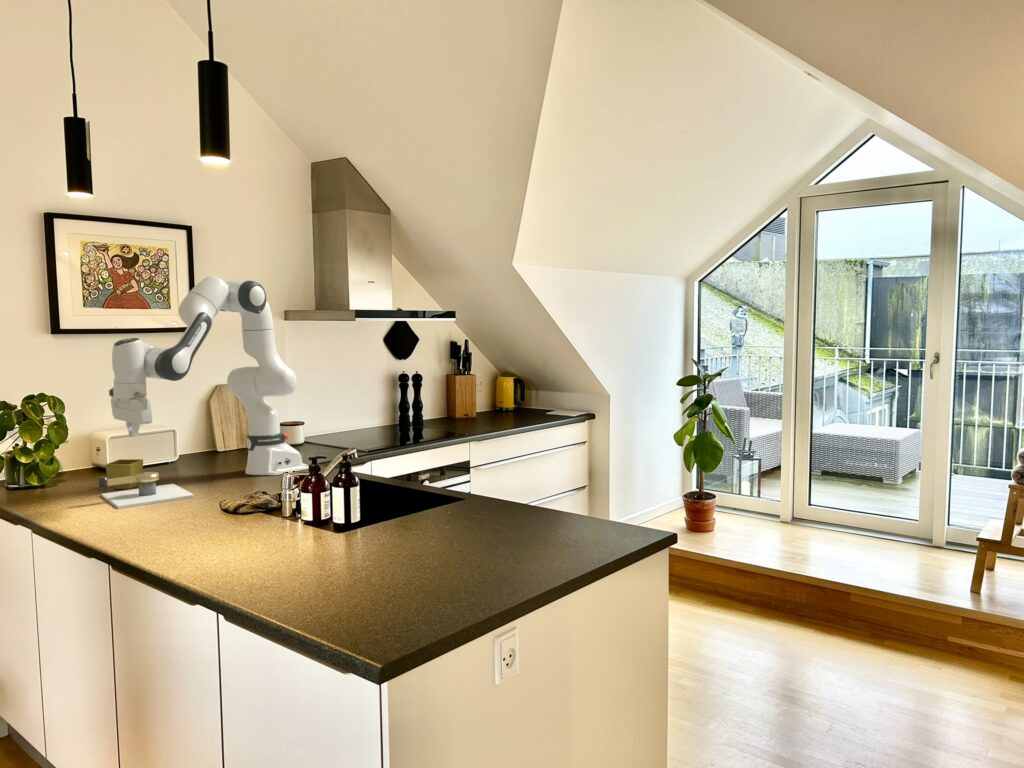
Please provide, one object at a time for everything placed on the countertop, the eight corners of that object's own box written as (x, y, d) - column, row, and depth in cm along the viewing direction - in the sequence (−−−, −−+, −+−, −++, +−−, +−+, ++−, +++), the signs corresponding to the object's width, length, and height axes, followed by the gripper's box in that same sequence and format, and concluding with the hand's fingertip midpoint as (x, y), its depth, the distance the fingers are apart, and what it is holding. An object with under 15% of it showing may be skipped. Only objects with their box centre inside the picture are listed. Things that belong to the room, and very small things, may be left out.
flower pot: (131, 490, 251) (130, 464, 250) (105, 491, 251) (104, 464, 251) (145, 485, 260) (143, 459, 259) (120, 485, 260) (118, 459, 259)
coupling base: (173, 485, 258) (172, 471, 257) (194, 497, 241) (193, 481, 241) (101, 496, 244) (100, 480, 243) (118, 508, 227) (117, 492, 227)
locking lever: (155, 477, 247) (154, 468, 247) (161, 480, 242) (161, 471, 241) (96, 485, 236) (95, 476, 236) (101, 488, 230) (100, 479, 230)
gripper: (156, 392, 228) (159, 438, 229) (127, 388, 241) (130, 431, 242) (135, 395, 223) (138, 441, 224) (106, 390, 236) (109, 434, 238)
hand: (133, 436), depth 234 cm, fingers closed
